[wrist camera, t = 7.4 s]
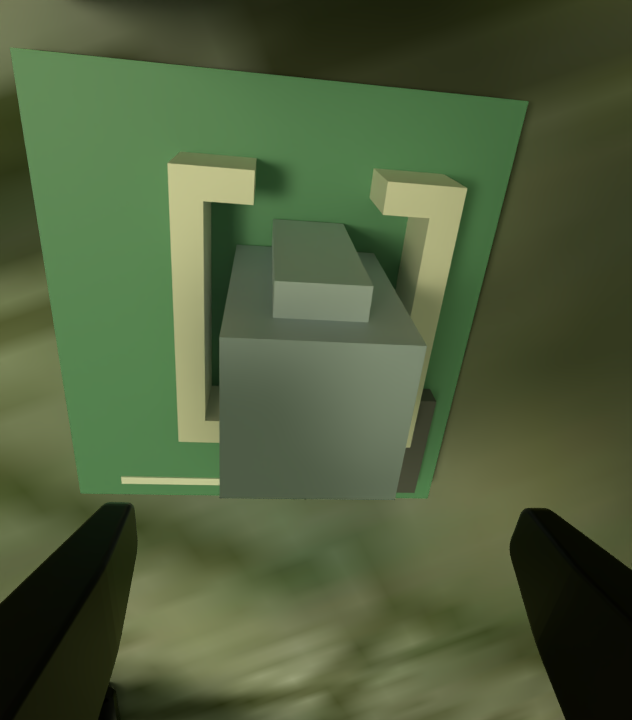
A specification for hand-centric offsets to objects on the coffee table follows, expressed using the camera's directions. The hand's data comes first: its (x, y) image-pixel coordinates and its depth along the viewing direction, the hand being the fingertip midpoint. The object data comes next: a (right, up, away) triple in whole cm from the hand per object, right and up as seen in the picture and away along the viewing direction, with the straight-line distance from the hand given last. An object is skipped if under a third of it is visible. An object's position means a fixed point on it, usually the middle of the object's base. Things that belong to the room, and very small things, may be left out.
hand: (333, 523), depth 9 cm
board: (-2, +4, +9) cm, 10 cm away
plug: (-1, +4, +8) cm, 9 cm away
